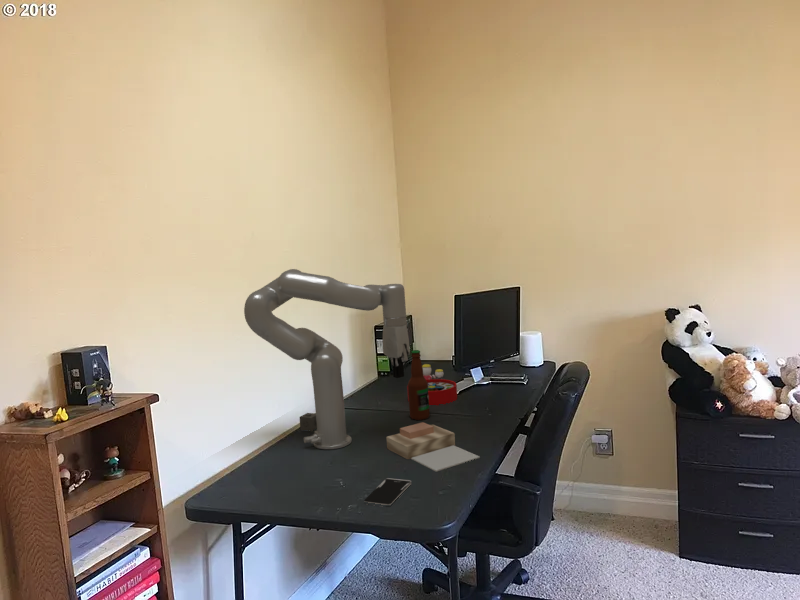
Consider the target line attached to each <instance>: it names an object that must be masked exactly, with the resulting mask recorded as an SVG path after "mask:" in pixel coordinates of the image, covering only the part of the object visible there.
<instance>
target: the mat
mask: <svg viewBox="0 0 800 600" xmlns="http://www.w3.org/2000/svg"><path fill="white" fill-rule="evenodd" d="M480 458H481V457H480V455H477V454H474V453H473V452H470V451H467V450H466V449H463V448H461V447H458V446H456V445H455V446H454V445H453V446H450V447H446V448H443V449H439V450H436V451H433V452H429V453H426V454H422V455H419V456H416V457H412V458H411V460H412V461H414V462H416V463H418V464H420V465H422V466H424V467H425V468H427V469H430V470H431V471H434V472H436V473H437V472H440V471H443V470H446V469H449V468H452V467H455V466H456V467H457V466H459V465H463V464H465V462H466V463H468V461H469V462H472V461H475V460H477V459H480ZM474 459H475V460H474ZM471 460H472V461H471Z"/></svg>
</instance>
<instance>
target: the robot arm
mask: <svg viewBox="0 0 800 600" xmlns="http://www.w3.org/2000/svg"><path fill="white" fill-rule="evenodd" d="M405 293H406V292H405V286H404V284H402V283H390V284H389V283H388V284H365V285H364V286H363V285H356V284H351V283H347V282H343V281H339V280H338V279H335V278H334V277H331V276H327V275H322V274H321V275H320V274H314V273H307V272H304V271H301V270H300V269H297V268H290V269H287V270H285V271H283V272H282V273H281V274H280V275H279V276H278V277H276V278H275V279H273V280H272V281H271V282H269V283H267V284H266V285H264V286H263V287H260V288H259V289H257V290H255V291H253V292H251V293H250V294H249V295H248V296H247V298H246V300H245V303H244V308H243V309H244V310H243V314H244V318H245V322H246V324H247V326H248V327H249V328H250V330H251V331H252V332H253V333H254V334H256V336H259V337H260V338H261V339H263V340H265V341H266V342H267V343H269V344H270V345H272V346H273V347H275V348H276V349H278V350H279V351H281V352H282V353H284V354H285V355H287V356H288V357H289V358H291V359H293V360H296V361H303V360H306V361H308V362H309V363H310V373H311V378H312V379H311V380H312V385H313V386H312V387H313V397H314V407H315V414H316V422H317V429H316V430H314V431H313V434H311V435H310V436H309V435H308V436H304V437H303V442H304V444H308V443H310V444H313V447H314V448H317V449H319V450H336V449H341V448H344V447H347V446H349V445H350V444H351V443H352V442H353V441H352V437H351V436H350V435H349V434H347V424H346V412H345V411H346V410H345V400H344V387H343V377H342V365H343V360H344V359H343V354H342V351H341V349H339V348H338V347H337V346H336V344H333V343H331V342H330V340H329V341H328V340H327V339H325V338H324V337H322V336H321V335H319V334H318V333H316V332H315V331H314V330H311V329H309V328H307V327H298V328H296V327H294V326H292V325H290V324H289V323H287V322H286V321H284V320H283V319H281V318H280V317H278V316H276V315H275V314H273V311H275V310H276V309H278V308H279V307H280V306H282V305H284V304H285V303H286V302H289V301H290V300H291V299H294V298H296V299H302V300H307V301H308V300H309V301H314V302H319V303H325V304H328V305H334V306H339V307H343V308H347V309H348V308H349V309H353V310H360V311H367V312H368V311H374V310H376V309H377V308H378V307H380V306H382V320H383V329H382V352H383V354H384V355H385V356H387V357H388V358H389V359H390V361H391V365H392V375H393V378H395V379H399V378H400V379H401V378H403V377H405V368H404V365H405V362H408V361H409V359H408V357H409V356H410V352H411V350H410V349H411V347H410V339H409V332H408V328H407V327H408V324H407V323H408V322H407V308H406V307H407V306H406V296H405V295H406V294H405Z"/></svg>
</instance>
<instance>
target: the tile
mask: <svg viewBox="0 0 800 600" xmlns="http://www.w3.org/2000/svg"><path fill="white" fill-rule="evenodd" d="M431 425H432V424H428V423H426V422H424V421H423V422H418V423H415V424H410V425H408V426H402V427H400V428H399V433H400V435H403V436H405V437H407V438H409V439H412V438H416V437H420V436H423V435H427V434H430V433H434V427H433V426H431Z"/></svg>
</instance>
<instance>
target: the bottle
mask: <svg viewBox="0 0 800 600" xmlns="http://www.w3.org/2000/svg"><path fill="white" fill-rule="evenodd" d="M410 352H411V358H412V359H411V366H410V368H411V369H410V373H411V375H410V378H409V380H408V383H407V386H408V391H407V396H408V395H409V401H408V407H409V408H408V409H409V417H410V419H411V420H413V419H415V420H414V421H424V420H428V419H429V417H430V416H431V415H430V406H429V395H428V383H427V381H426V379H425V378H424V376H423V368H422V365H423V364H422V360H421V350H419V349H414V350H412V351H410ZM423 419H424V420H423Z"/></svg>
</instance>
